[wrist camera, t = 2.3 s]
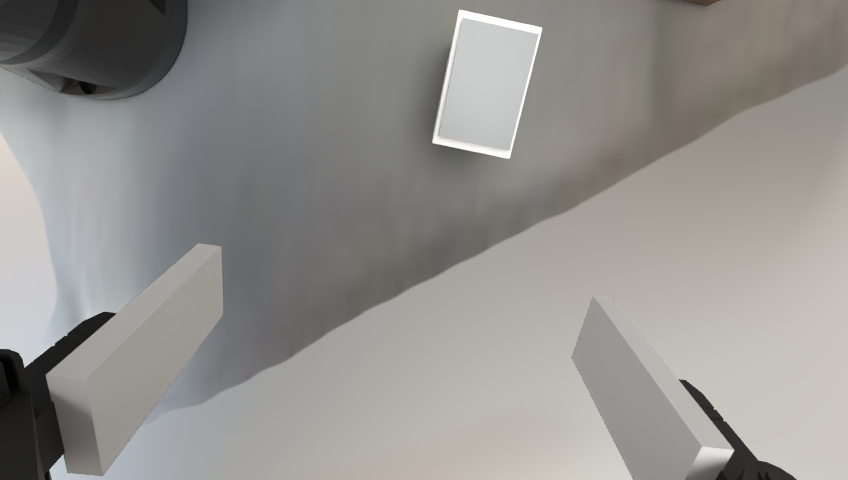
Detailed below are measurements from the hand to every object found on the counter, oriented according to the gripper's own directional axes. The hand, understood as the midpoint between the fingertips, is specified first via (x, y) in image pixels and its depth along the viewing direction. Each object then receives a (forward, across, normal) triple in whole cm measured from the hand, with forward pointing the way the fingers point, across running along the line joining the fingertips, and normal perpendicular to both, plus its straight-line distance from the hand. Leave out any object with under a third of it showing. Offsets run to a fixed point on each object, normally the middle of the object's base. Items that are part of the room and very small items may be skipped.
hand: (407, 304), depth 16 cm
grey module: (+24, +4, +6) cm, 25 cm away
